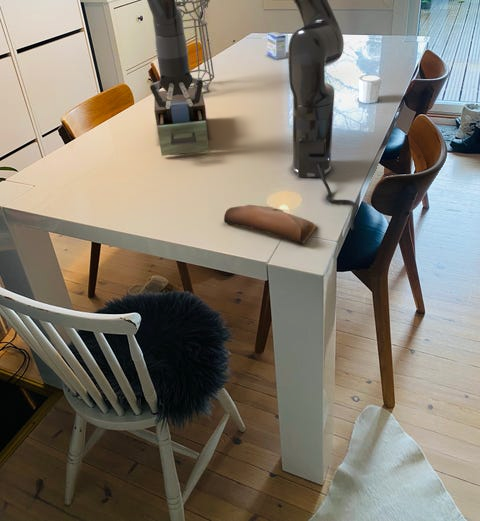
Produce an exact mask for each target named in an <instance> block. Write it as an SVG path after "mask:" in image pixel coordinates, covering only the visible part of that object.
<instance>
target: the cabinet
mask: <svg viewBox="0 0 480 521" xmlns="http://www.w3.org/2000/svg"><path fill="white" fill-rule="evenodd" d="M188 91H189V94H190V96H191V99H192V98H194V97H195V91H196V88H193V87H189V89H188ZM158 92H159V94H160V96H161V98H162V100H163V101H166V97H167V92H166V91H165V90H159V91H158ZM202 92H203V90H202V91H201V96H200V101H199V103H196V104H194V105H193V110H196V109H200V111H201V116H202V121H206V127H207V137H208V138H209V130H208V120H207V110H206V103H205V99H204V93H202ZM181 102H187V101H186V99H185V97H184V95H175V96H172V100H171V104H172V103H181ZM153 103H154V104H153V105H154V106H153V108H154V110H153V111H154V116H155V123H156V127H157V126H159V125H160V113H167V112H166V108H164V107H159V106H158V104H157V101H156V99H155V98H154V102H153ZM187 104H188V103H187Z"/></svg>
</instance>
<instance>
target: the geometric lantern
mask: <svg viewBox="0 0 480 521" xmlns="http://www.w3.org/2000/svg"><path fill="white" fill-rule="evenodd" d="M210 1H211V0H182V1H178V0H175V2H176V6H177V7H183V8H184V9H181V8H180V10H181V13H182V19H183V18H184V16H185V15H187V14H189V16H191V18H190V19H183V23H184V22H191V21H193V25H191V26H186V27H184V30H186V29H194V37H195V39H194V40H195V48H196V49H195V50H196V59H197V60H196V61H197V69H195V70H194V69H193V70H190V74H191V73H197V72H198V73H197V79H198V78H200V73H201V72H204V73H203V74H202V76H201V78H202V81H203V85H202V88H204V89H206V91H205V90H204V91H202V94H205V93H208V92H209V91H210V88H209V85H210V84H211V82H212V81H213V80H214V79H215V73H214V66H213V60H212V52H211V45H210V39H209V33H208V26H207V25H208V22H205V18H206V17H205V16H206V15H205V13H204V10H205V9H208V8H209V3H210ZM197 3H200V4H199V5H197V6H196V7H195V4H197ZM187 4H192V7H193V9H191V10H188V9H187V7H186V5H187ZM200 8H201V10H200V13H198V11H197V10H199V9H200ZM194 12H195V15H196V17H197V18H194V17H193V15H192V13H194ZM202 15H203V20H202V19H201V18H202ZM196 22H197V23H196ZM197 24H198V25H197ZM204 27H205V30H204ZM197 28H198V33H199V38H200V45H201V51H202V52H201V53H202V60H203V63H204V64H203V65H204V69H200V57H199V45H198V34H197ZM205 34H206V37H205ZM206 41H207V42H206ZM207 48H208V49H207ZM206 64H207V65H206ZM210 68H211V69H210ZM206 74H208V77H209V79H203V78H204V77H205V75H206ZM189 88H196V87H195V86H194V83H193V82H192V83H191V85H190V87H189Z"/></svg>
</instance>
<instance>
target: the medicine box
mask: <svg viewBox="0 0 480 521" xmlns="http://www.w3.org/2000/svg"><path fill="white" fill-rule="evenodd" d="M286 38H287V37H286V35H285V34H283V33H280V32H278V31H272V32H267V33H266V48H267V50H266V52H267V53H266V54H267V56H268V57H270V58H272V59H275V60H282V59H286V52H287V51H286V49H287V48H286V46H287V45H286V44H287V43H286V42H287V40H286Z"/></svg>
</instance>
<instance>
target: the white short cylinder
mask: <svg viewBox="0 0 480 521" xmlns="http://www.w3.org/2000/svg"><path fill="white" fill-rule="evenodd" d="M381 84H382V76H379V75H377V74H365V75H361V76H360V77H358V100H359V102H360V103H362V104H375V103H377V102H378V98H379V93H380V89H381Z"/></svg>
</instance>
